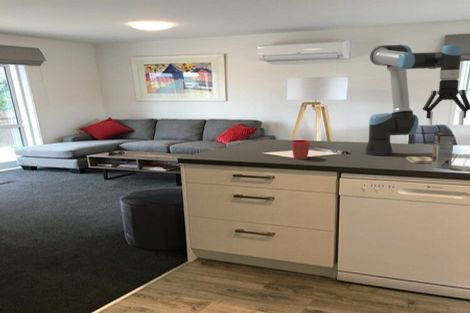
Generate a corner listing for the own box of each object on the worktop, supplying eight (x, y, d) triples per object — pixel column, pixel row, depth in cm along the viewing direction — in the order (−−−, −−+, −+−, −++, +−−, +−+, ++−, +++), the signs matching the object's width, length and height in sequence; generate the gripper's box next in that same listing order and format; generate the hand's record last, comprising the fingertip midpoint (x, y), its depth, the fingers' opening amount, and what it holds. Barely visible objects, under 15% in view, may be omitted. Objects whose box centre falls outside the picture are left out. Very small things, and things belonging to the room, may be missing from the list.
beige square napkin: (413, 163, 172) (413, 160, 172) (406, 158, 183) (406, 156, 183) (436, 163, 170) (436, 161, 170) (427, 158, 181) (428, 156, 181)
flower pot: (311, 156, 197) (311, 139, 195) (308, 160, 187) (308, 142, 185) (292, 155, 200) (293, 139, 198) (289, 159, 190) (289, 142, 188)
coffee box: (431, 163, 169) (433, 132, 166) (445, 164, 168) (448, 132, 164) (436, 168, 161) (439, 134, 158) (451, 168, 159) (454, 134, 156)
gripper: (423, 80, 155) (420, 126, 158) (483, 78, 151) (478, 125, 154) (417, 80, 162) (414, 124, 166) (474, 79, 158) (469, 124, 162)
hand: (445, 125), depth 160 cm, fingers open, 13 cm apart
